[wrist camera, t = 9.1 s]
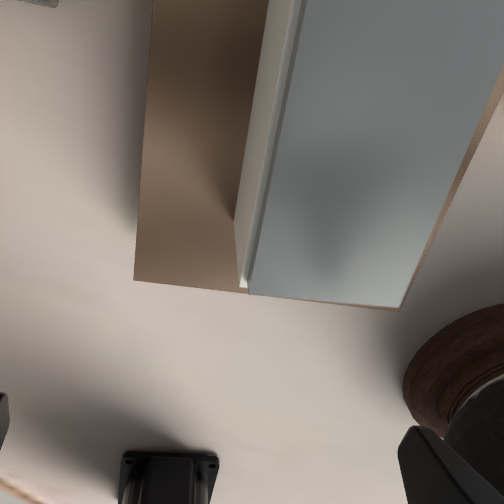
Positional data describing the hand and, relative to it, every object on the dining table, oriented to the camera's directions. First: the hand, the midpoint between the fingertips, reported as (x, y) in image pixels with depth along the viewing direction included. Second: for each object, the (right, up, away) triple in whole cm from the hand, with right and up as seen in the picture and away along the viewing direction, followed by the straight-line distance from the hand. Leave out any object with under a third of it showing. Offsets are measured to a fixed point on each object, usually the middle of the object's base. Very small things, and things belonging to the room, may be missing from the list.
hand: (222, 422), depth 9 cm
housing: (+3, +9, +5) cm, 10 cm away
